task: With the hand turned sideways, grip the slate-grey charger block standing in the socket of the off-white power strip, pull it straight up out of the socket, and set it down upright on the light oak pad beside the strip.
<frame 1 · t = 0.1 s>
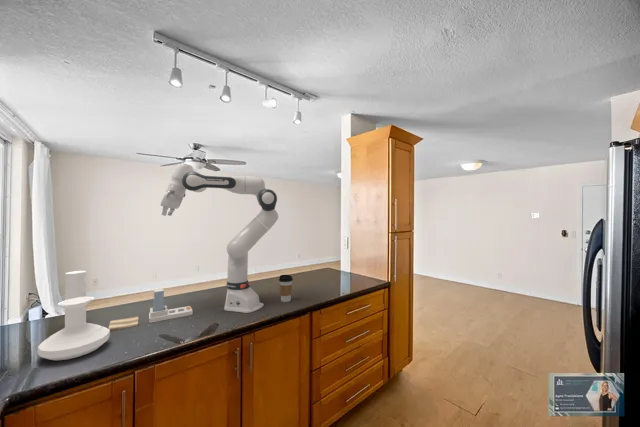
hand: (166, 215, 142), 52 cm above the worktop, tool tilted 20°, fingers open, 8 cm apart
oak pad: (124, 324, 124), on the worktop
candle holder: (76, 351, 99), on the worktop
charger: (158, 314, 131), point 2 cm above the worktop, touching power strip
coffee cup: (285, 300, 160), on the worktop
cylindrical container: (75, 325, 122), on the worktop
power strip: (171, 315, 135), on the worktop
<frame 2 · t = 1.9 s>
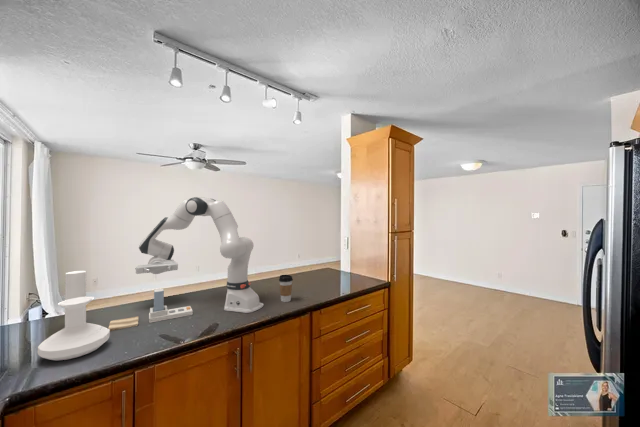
hand: (158, 270, 142), 22 cm above the worktop, tool horizontal, fingers open, 8 cm apart
nothing on the worktop moved.
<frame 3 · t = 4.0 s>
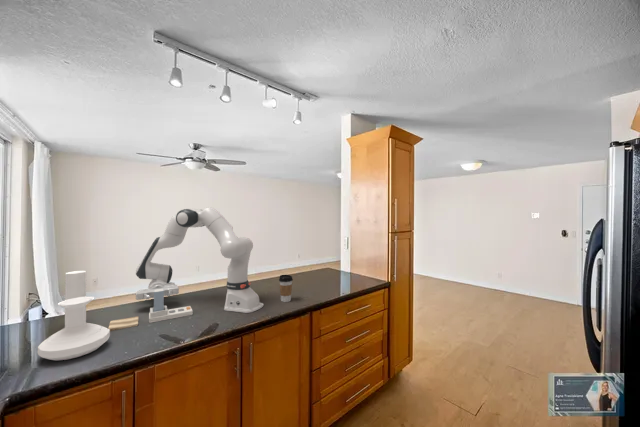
hand: (158, 296, 139), 9 cm above the worktop, tool horizontal, fingers open, 8 cm apart
nothing on the worktop moved.
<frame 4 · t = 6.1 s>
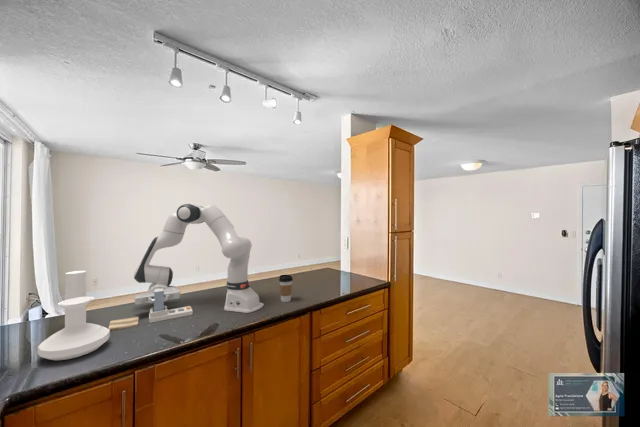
hand: (158, 300, 131), 9 cm above the worktop, tool horizontal, fingers closed on charger, 4 cm apart
charger: (158, 314, 131), point 2 cm above the worktop, touching gripper, power strip
everything else where it was.
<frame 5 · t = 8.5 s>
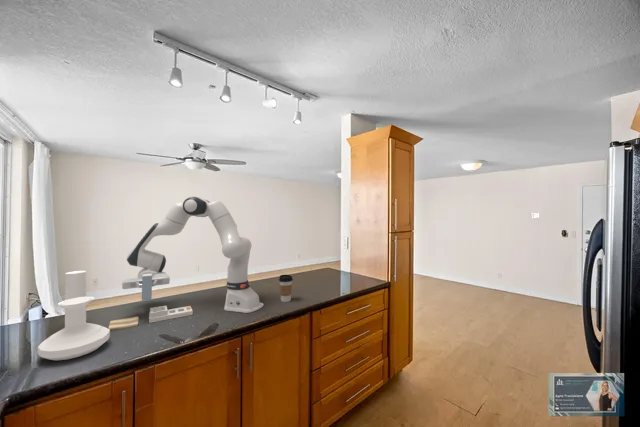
hand: (146, 285, 128), 17 cm above the worktop, tool horizontal, fingers closed on charger, 4 cm apart
charger: (146, 299, 129), point 10 cm above the worktop, touching gripper
everything else where it was.
when the fingers open (9 cm above the worktop, at t = 10.9 s): charger drops 1 cm, resting on oak pad.
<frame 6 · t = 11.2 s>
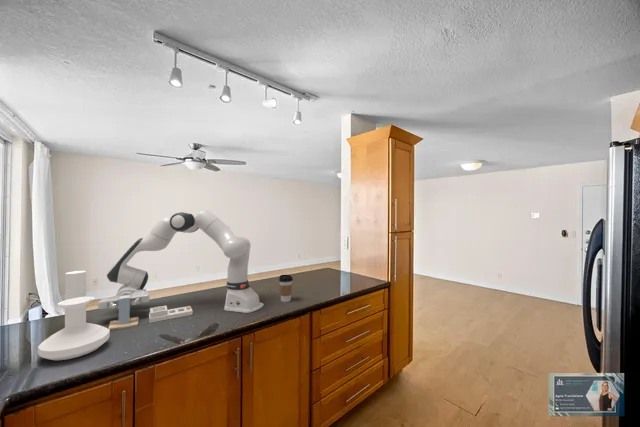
hand: (124, 304, 123), 9 cm above the worktop, tool horizontal, fingers open, 6 cm apart
charger: (124, 322, 124), point 1 cm above the worktop, touching oak pad
everything else where it was.
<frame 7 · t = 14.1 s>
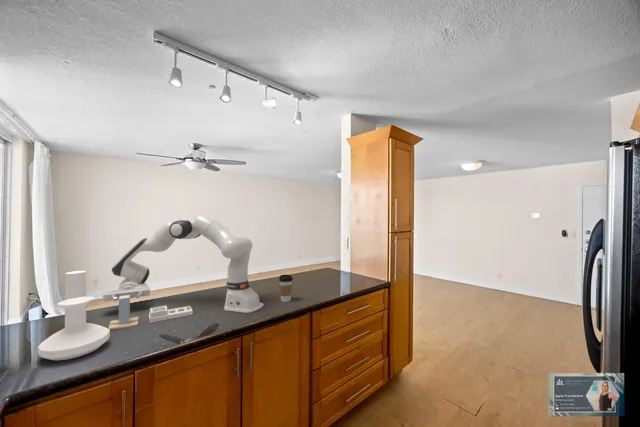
hand: (126, 297, 134), 9 cm above the worktop, tool horizontal, fingers open, 8 cm apart
nothing on the worktop moved.
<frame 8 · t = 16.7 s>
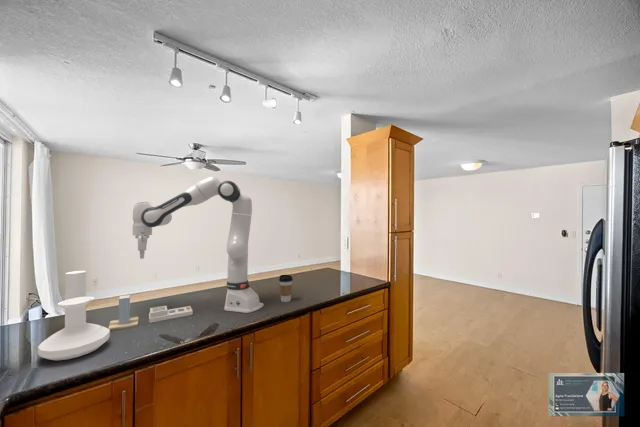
hand: (142, 257, 141), 29 cm above the worktop, tool pointing down, fingers open, 8 cm apart
nothing on the worktop moved.
at the end: charger inside the target area on the oak pad (0.1 cm from its centre), point 1.0 cm above the oak pad's base; charger tilted 0°; the gripper is holding nothing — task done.
